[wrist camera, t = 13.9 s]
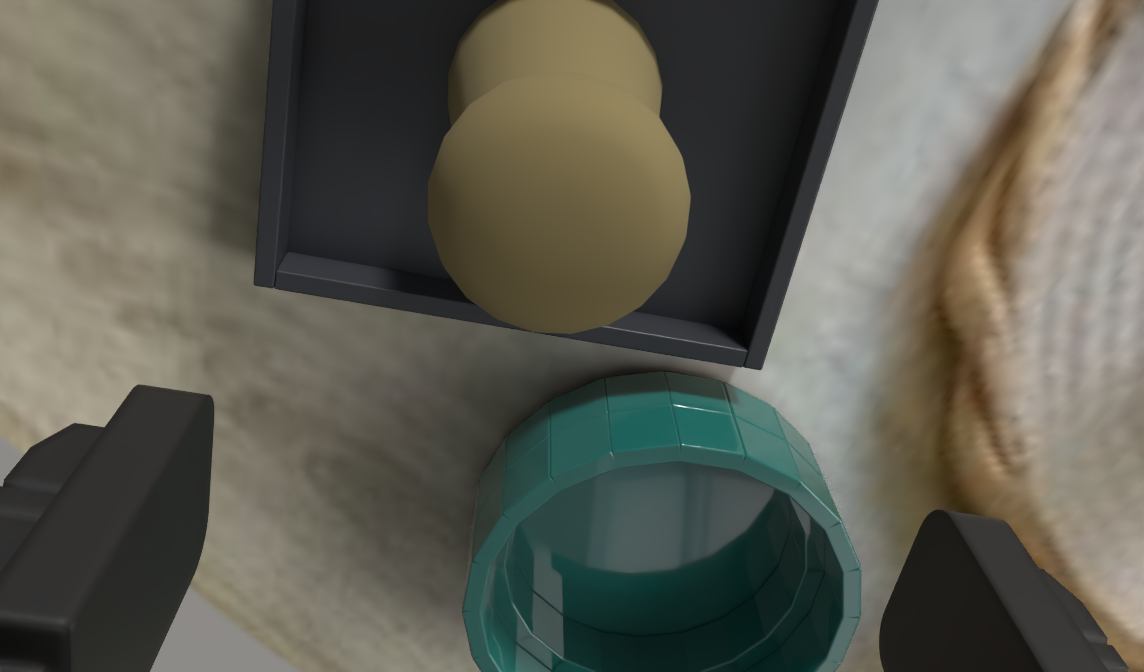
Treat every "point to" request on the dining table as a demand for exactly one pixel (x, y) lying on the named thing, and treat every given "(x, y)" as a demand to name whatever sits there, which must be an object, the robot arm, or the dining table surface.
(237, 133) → the dining table surface
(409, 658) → the dining table surface
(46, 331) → the dining table surface
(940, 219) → the dining table surface
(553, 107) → the cork
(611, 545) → the bowl
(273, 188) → the tray
